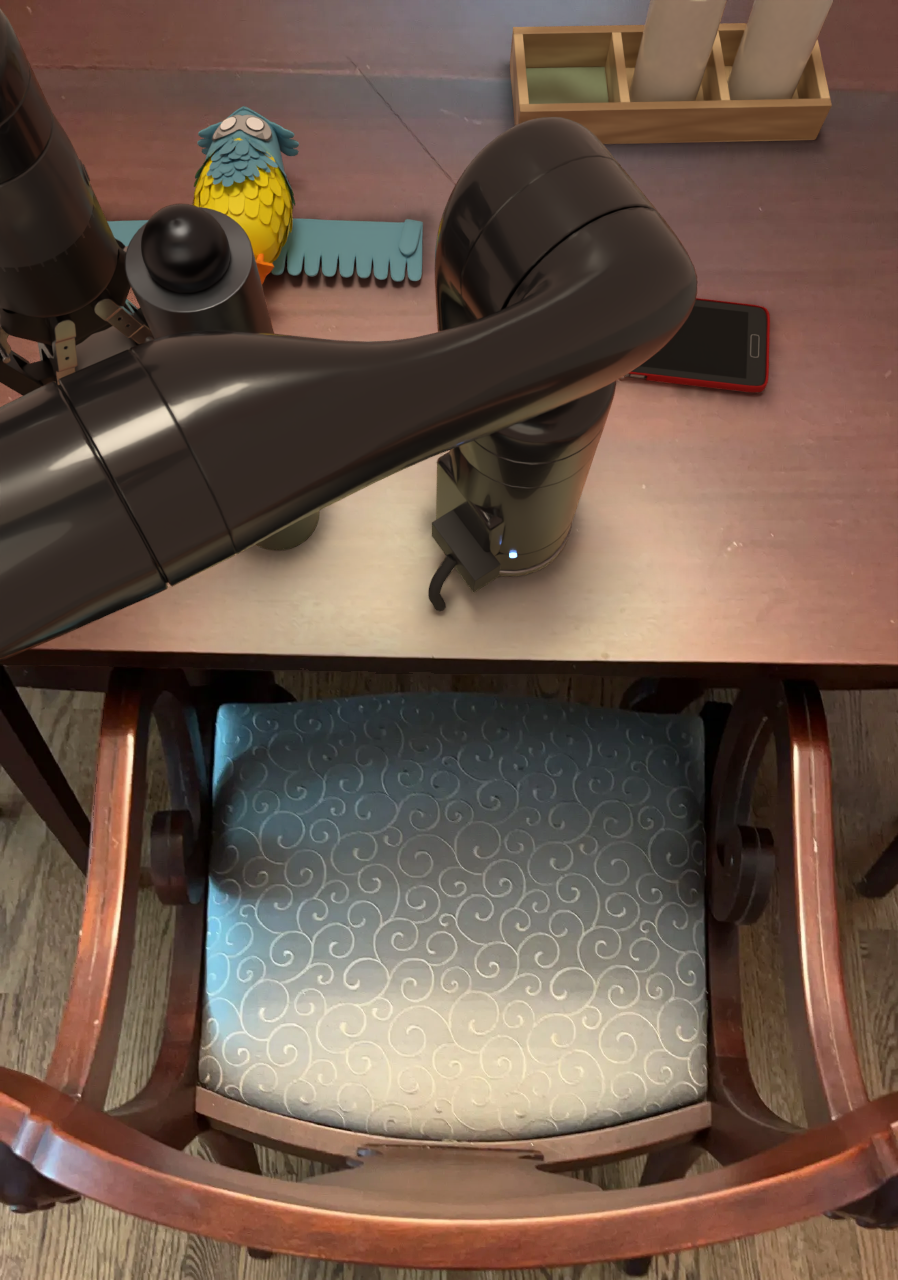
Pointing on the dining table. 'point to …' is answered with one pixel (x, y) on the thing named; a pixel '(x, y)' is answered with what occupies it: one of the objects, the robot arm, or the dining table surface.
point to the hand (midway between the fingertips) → (121, 387)
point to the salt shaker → (101, 347)
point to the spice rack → (599, 100)
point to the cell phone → (715, 349)
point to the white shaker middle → (675, 49)
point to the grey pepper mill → (202, 291)
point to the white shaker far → (776, 48)
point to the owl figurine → (287, 209)
